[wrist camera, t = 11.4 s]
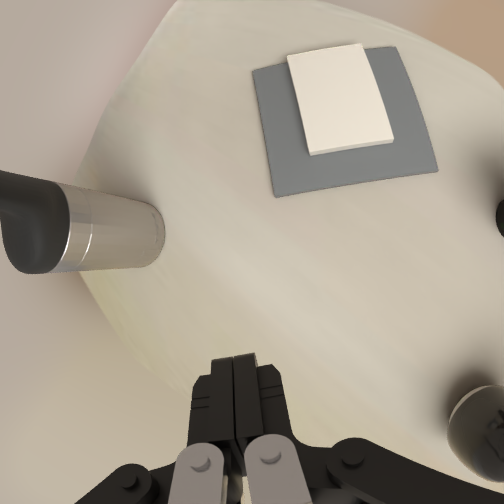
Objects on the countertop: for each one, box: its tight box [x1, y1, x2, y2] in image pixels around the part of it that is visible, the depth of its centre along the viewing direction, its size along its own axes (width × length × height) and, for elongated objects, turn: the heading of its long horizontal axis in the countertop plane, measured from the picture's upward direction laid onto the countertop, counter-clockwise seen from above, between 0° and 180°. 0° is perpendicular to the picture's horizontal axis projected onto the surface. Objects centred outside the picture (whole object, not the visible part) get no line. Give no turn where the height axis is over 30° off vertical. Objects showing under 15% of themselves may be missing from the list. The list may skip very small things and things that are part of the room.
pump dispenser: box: [447, 386, 504, 483], centre depth 23 cm, size 10×10×15 cm
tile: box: [287, 43, 394, 156], centre depth 34 cm, size 10×2×14 cm
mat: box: [253, 47, 439, 198], centre depth 35 cm, size 20×18×1 cm
